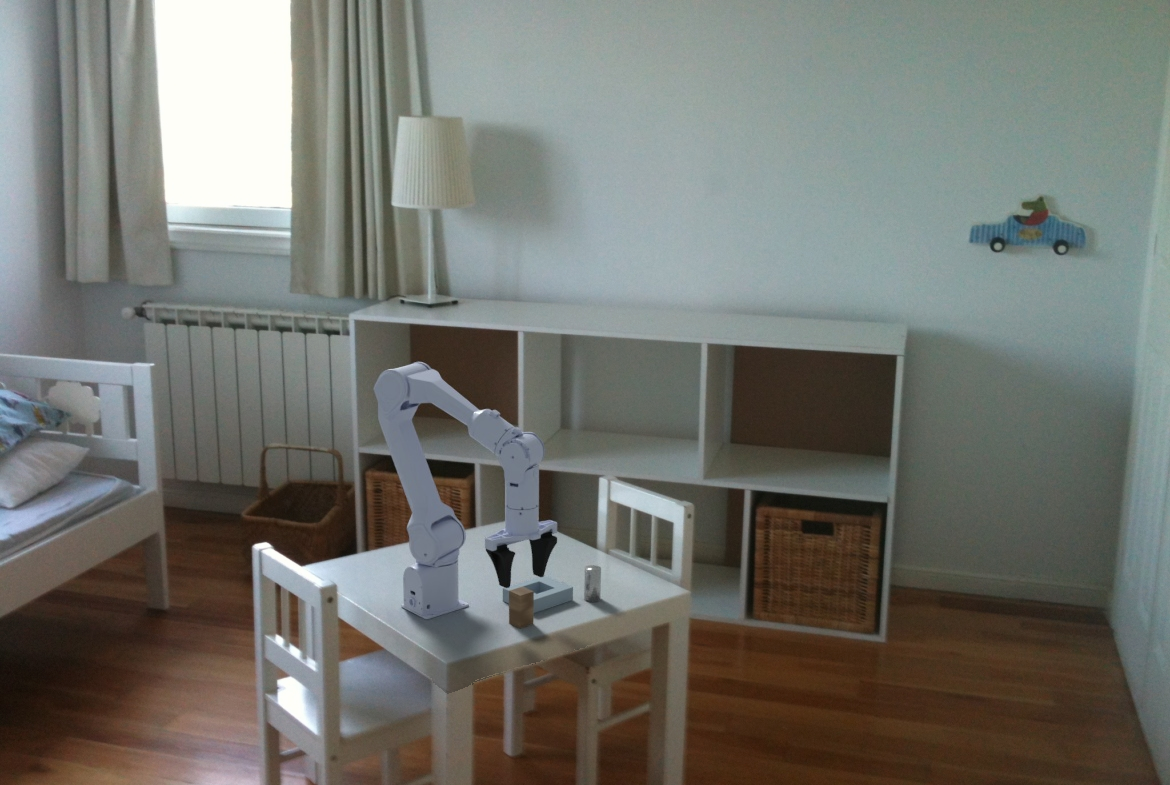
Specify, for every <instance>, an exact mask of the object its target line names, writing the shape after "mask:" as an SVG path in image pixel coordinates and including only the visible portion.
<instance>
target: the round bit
mask: <svg viewBox="0 0 1170 785" xmlns="http://www.w3.org/2000/svg"><path fill="white" fill-rule="evenodd" d="M601 581H602V567H601V566H599V565H593V564H591V565H586V566H584V580H583V582H584V583H583V584H584V585H583V586H584V587H583V589H584V590H583V600H584V601H585V602H588V603H598V602H600V601H601V586H602V585H601Z"/></svg>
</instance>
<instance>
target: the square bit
mask: <svg viewBox="0 0 1170 785" xmlns="http://www.w3.org/2000/svg"><path fill="white" fill-rule="evenodd" d="M534 614H535V613H534V591H532V590H529V589H527V588H525V587H519V588H516V589H513V590H510V591H509V604H508V624H509V625H512V626H513V627H516V628H518V629H523V628H526V627H528V626H531V625H534Z"/></svg>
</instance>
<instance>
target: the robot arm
mask: <svg viewBox="0 0 1170 785" xmlns="http://www.w3.org/2000/svg"><path fill="white" fill-rule="evenodd" d="M373 392H374V395H375V397H376V401H377V419H378V423H379V425H380V429H381V432H382V434H383V437H384V440H385V442H386V445H387V448H388V451H389V453H390V456H391V459H392V461H393V465H394V467H395V470H396V472H397V475H398V478H399V481H400V483H401V486H402V488H403V492H404V494H405V496H406V500H407V503H408V506H409V508H410V511H411V516H410V518H409V521H408V523H407V525H406V531H407V533H408V536H409V542H408V544H409V545H408V547H409V551H410V553H411V556H412V558H414V559H415V562H414V563H413V564H411V565H410V566H407V567H406V568H405V570H404V572H403V577H402V578H403V579H402V582H403V603H401V604H400V606H401V608H402V609H404V610H406V611H409V612H410V613H412V614H415V615H417V616H418V617H420V618H421V619H424V620H430V619H433V618H435V617H436V618H437V617H440V616H442V615H446V614H449V613H453V612H456V611H458V610H461V609H464V608H468V607H469V603H468V602H466V601H464V600H462V599H460V598H459V556H460V549H461V548H462V547H463V546H464V544H465V543H466V538H467V535H466V534H467V532H466V530H465V529H466V528H465V527H464V525H463V524H462V522H461V521H460V520H459V519H458V518H457V516H456V515H455V512H454V509H453V508H452V507H451V506H449V505H448V504H445V503H444V502H442V500H441V497H440V495H439V494H440V493H439V492H438V489H437V486H436V483H435V481H434V478H433V475H432V473H431V470H430V466H429V464H428V462H427V458H426V456H425V452H424V450H423V447H422V445H421V442H420V440H419V436H418V433H417V431H416V428H415V426H414V422H413V418H414V416H415V413H416V412H417V410H418V407H419V406H420V405H421V404H432V405H434V406H435V407H437V408H438V409H440V410H441V411H443V412H445V413H447V414H448V415H449V416H451V417H453V418H454V419H456V420H458V422H460V423H462V424H464V425H465V426H467V430H468V435H469V437H470V438H472V439H473V440H475V441H476V442H478V443H479V444H480V445H481V446H483V447H484V448H485V449H487V450H489V451H490V452H491V453H492V454H494V455H495V456H496V457H497V459H498V462H499V464H500V467H501V468H502V469H503V473H504V474H503V475H504V476H503V478H504V492H505V493H504V505H505V506H504V528H502V529H501V530H499V531H497V532H495V533H493V534H490V535H489V536H486V537H485V538H484V549H485V551H486V553H487V555H488V557H489V558H490V560H491V562H492V564H493V567H494V569H495V573H496V576H497V581H498V585H499V586H501V587H503V588H504V587H505V588H509V587H510V586H511V585H512V584H511V581H512V567H513V562H514V559H515V555H516V552H515V551H513V550H510V548H509V547H508V546H510V545H513V544H516V543H520V542H523V541H527V540H528V541H529V544H530V550H531V565H532V566H531V567H532V569H531V570H532V573H533V575H534V576H536V577H544V575H545V572H546V569H547V564H548V562H549V558H550V557H551V554H552V552H553V550H554V548H555V546H557V543H558V537H557V536H556V535H554V534H557V533H558V522H557V521H554V520H551V519H548V520H542V521H539V520H540V519H539V515H540V514H539V513H540V512H539V511H540V510H539V509H540V501H539V500H540V465H539V464H540V463H541V462H542V461H543V460H544V458H545V455H546V446H545V444H544V442H543V440H542V438H541V437H539V436H538V434H537V433H535V432H532V431H522V429H521V428H520V427H518V426H514V425H513V424H511V423H510V422H508V421H507V420H506V419H504V418H503V417H502V416H500V415H501V413H500V412H499V411H498V410H496V409H493V410H491V409H490V408H485V409H479V408H478V407H477V406H475V405H474V404H473V403H472V402H470V401H469V400H468V399H467V398H466V397H464V396H463V395H462V394H461V393H459V392H458V391H457V390H456V389H454V387H452V386H451V385H449V383H447V382H446V381H445V380H444V379H443V378H442V376H441V375H440V373H439V371H438V370H436V369H434V368H431V366H430V365H429V364H427V363H425V362H422V361H416V362H415V361H414V362H412V363H411V364H407V365H404V366H400V367H395V368H390V369H389V368H388V369H386V370H384V371H382V372H381V373H380V375H378V378H377V380H376V382H375V383H374V386H373Z"/></svg>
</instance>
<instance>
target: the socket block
mask: <svg viewBox="0 0 1170 785" xmlns="http://www.w3.org/2000/svg"><path fill="white" fill-rule="evenodd" d="M519 587H525V588H527V589H529V590H532V591H534V614H536V613H539V612H542V611H545V610H547V609H550V608H553V607H556V606H559V605H562V604H565V603H568V602H571V601H574V587H573V586H572V585H569V584H566V583H564V582H563V581H559V580H557V579H554V578H552V577H550V576H547V575H545V574H544V577H539V576H536V577H534V578H530V579H527V580H524V581H521V582H518V583H515V584H510V587H509V588H505V587H503V588H502V602H504V603H506V604H508V605H509V591H510V590H513V589H516V588H519Z"/></svg>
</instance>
